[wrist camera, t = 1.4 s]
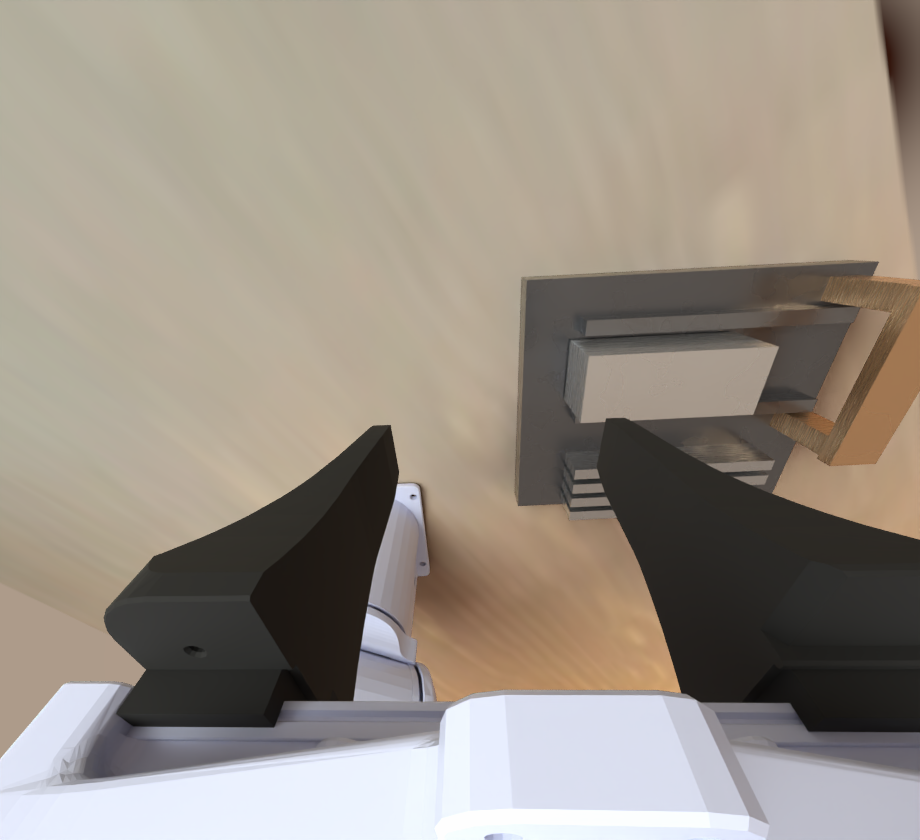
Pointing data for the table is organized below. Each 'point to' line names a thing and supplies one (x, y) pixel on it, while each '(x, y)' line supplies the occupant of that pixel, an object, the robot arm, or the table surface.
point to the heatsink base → (713, 311)
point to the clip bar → (666, 376)
